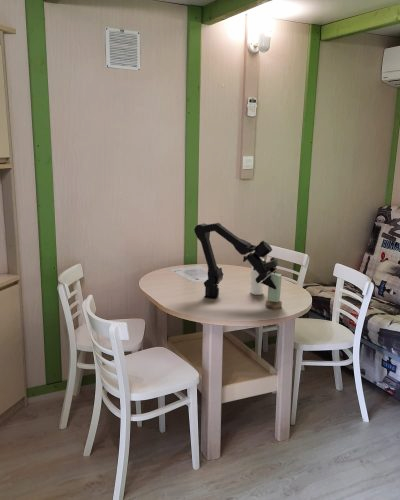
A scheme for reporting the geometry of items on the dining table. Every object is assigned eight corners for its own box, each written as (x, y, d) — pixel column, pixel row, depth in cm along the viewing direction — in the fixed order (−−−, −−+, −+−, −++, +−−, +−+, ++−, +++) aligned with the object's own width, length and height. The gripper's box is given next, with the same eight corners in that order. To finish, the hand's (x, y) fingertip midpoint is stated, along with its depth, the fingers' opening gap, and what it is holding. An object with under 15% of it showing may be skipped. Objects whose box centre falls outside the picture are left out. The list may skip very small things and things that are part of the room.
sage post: (267, 300, 236) (269, 275, 233) (270, 297, 240) (271, 273, 237) (277, 302, 234) (278, 276, 231) (279, 299, 238) (281, 274, 235)
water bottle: (261, 291, 262) (264, 247, 257) (264, 295, 256) (266, 250, 250) (249, 291, 262) (251, 247, 257) (251, 295, 255) (253, 249, 250)
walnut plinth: (264, 308, 235) (264, 303, 234) (266, 303, 242) (266, 298, 242) (280, 309, 233) (281, 305, 232) (282, 304, 240) (282, 300, 240)
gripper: (263, 257, 225) (284, 282, 223) (274, 250, 242) (293, 273, 240) (246, 270, 230) (267, 296, 228) (258, 263, 247) (277, 286, 245)
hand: (277, 287), depth 235 cm, fingers closed on sage post, 5 cm apart
